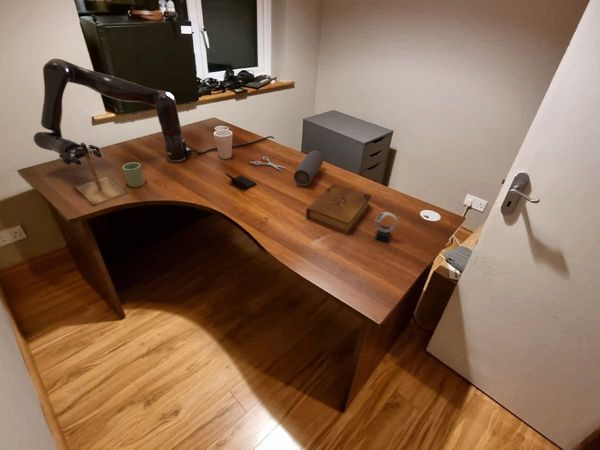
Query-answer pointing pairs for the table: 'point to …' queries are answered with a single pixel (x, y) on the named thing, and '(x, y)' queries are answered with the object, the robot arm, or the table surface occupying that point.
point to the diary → (338, 208)
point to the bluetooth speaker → (308, 168)
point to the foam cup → (224, 143)
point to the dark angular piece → (242, 181)
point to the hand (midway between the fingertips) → (90, 158)
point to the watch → (382, 230)
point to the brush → (90, 164)
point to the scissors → (265, 163)
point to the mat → (95, 194)
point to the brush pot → (133, 174)
